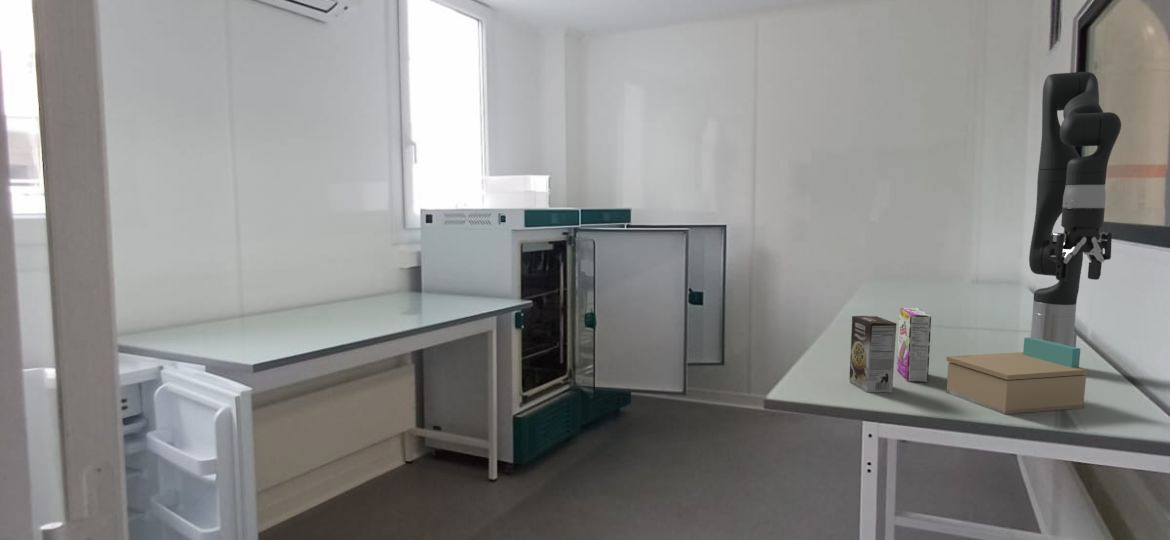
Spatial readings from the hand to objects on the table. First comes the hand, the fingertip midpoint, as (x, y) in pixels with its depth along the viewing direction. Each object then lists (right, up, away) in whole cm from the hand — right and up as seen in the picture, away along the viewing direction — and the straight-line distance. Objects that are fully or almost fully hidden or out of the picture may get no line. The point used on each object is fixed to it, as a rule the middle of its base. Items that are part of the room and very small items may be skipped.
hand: (1077, 279), depth 151 cm
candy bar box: (-28, -24, +18) cm, 41 cm away
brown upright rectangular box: (-42, -25, +9) cm, 50 cm away
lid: (-15, -19, -2) cm, 24 cm away
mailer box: (-15, -26, -1) cm, 30 cm away
